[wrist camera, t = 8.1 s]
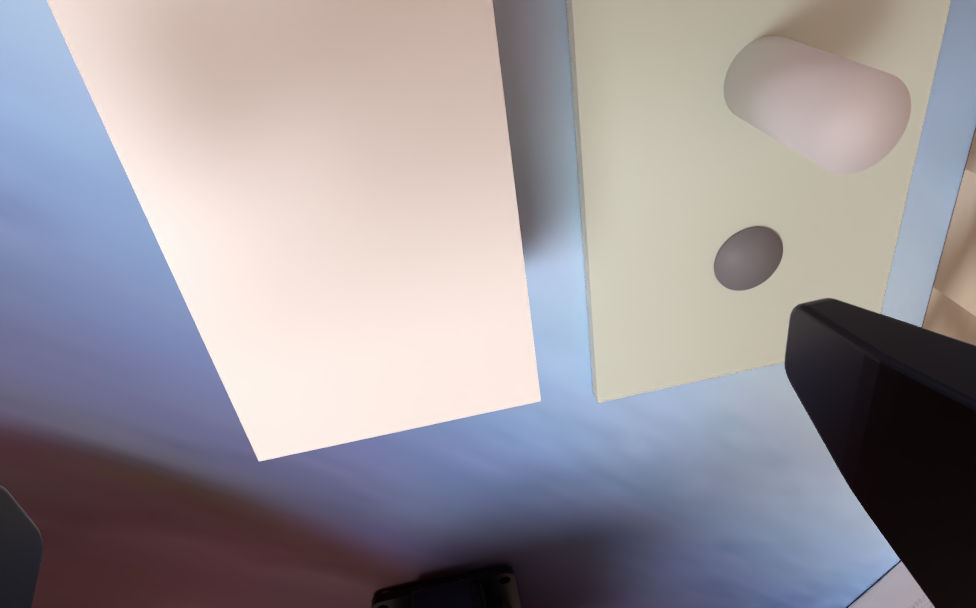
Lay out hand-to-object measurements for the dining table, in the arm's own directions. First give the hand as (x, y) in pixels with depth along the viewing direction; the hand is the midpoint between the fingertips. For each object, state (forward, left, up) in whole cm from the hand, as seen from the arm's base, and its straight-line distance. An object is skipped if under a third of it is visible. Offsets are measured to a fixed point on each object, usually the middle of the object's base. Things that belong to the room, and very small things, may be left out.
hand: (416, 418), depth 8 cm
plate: (-4, -11, -13) cm, 17 cm away
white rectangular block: (0, +1, -13) cm, 13 cm away
